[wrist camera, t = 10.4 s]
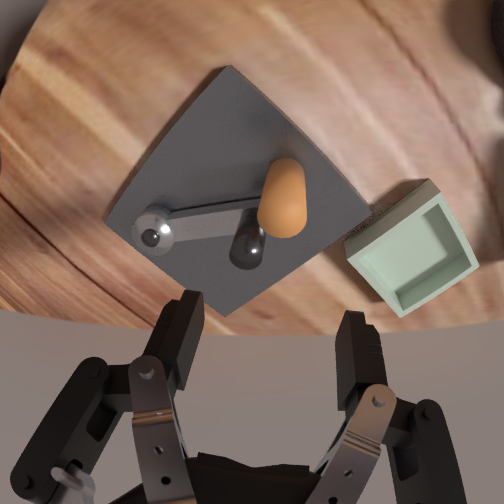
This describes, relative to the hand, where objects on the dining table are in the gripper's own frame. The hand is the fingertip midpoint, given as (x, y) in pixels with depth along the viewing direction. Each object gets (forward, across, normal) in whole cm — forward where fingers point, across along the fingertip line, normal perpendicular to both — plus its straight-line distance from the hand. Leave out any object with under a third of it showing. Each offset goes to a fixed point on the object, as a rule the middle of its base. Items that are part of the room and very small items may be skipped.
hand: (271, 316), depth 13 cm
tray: (+18, -14, +6) cm, 24 cm away
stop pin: (+16, 0, 0) cm, 16 cm away
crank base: (+18, +5, +5) cm, 19 cm away
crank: (+16, +6, +5) cm, 18 cm away
